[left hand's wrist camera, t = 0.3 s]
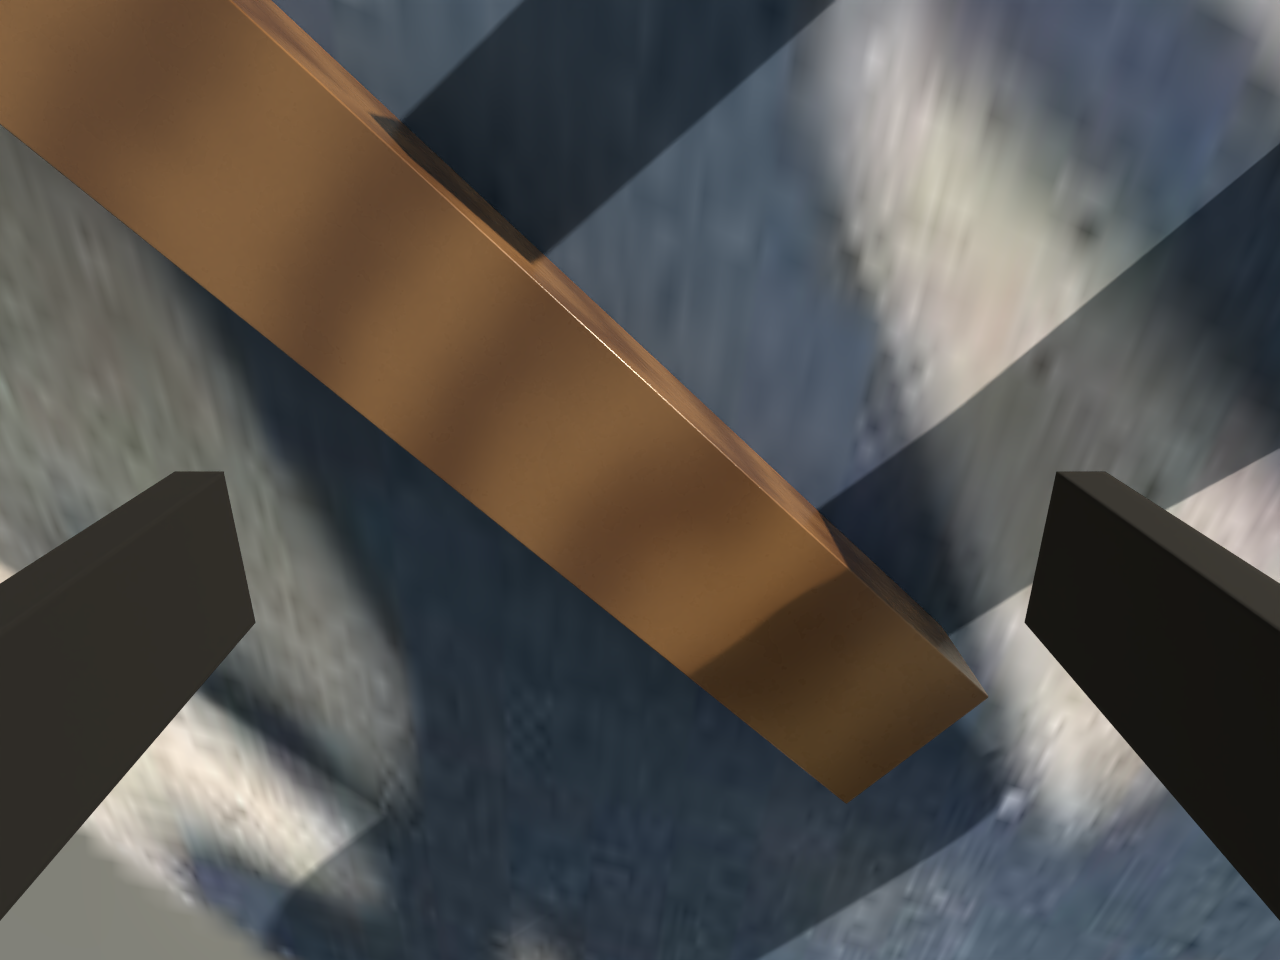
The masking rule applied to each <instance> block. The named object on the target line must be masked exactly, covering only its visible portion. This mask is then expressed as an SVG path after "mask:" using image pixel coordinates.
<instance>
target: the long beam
mask: <svg viewBox="0 0 1280 960" xmlns="http://www.w3.org/2000/svg"><path fill="white" fill-rule="evenodd" d="M0 124H1V125H2V126H3V127H4V128H6V129H7V130H8V131H9V132H11V133H12V134H13V135H14V136H15V137H17V138H18V139H19V140H20V141H22V142H23V143H24V144H25V145H27V146H28V147H29V148H30V149H32V150H33V151H34V152H35V153H37V154H38V155H39V156H40V157H42V158H43V159H44V160H45V161H47V162H48V163H49V164H50V165H52V166H53V167H54V168H55V169H57V170H58V171H59V172H60V173H62V174H63V175H64V176H65V177H67V178H68V179H69V180H70V181H72V182H73V183H74V184H75V185H77V186H78V187H79V188H80V189H81V190H83V191H84V192H85V193H86V194H88V195H89V196H90V197H91V198H93V199H94V200H95V201H96V202H98V203H99V204H100V205H101V206H103V207H104V208H105V209H106V210H108V211H109V212H110V213H111V214H113V215H114V216H115V217H116V218H118V219H119V220H120V221H121V222H123V223H124V224H125V225H126V226H128V227H129V228H130V229H131V230H133V231H134V232H135V233H136V234H138V235H139V236H140V237H141V238H142V239H144V240H145V241H146V242H147V243H149V244H150V245H151V246H152V247H154V248H155V249H156V250H157V251H159V252H160V253H161V254H162V255H164V256H165V257H166V258H167V259H169V260H170V261H171V262H172V263H174V264H175V265H176V266H177V267H179V268H180V269H181V270H182V271H184V272H185V273H186V274H187V275H189V276H190V277H191V278H192V279H194V280H195V281H196V282H197V283H199V284H200V285H201V286H202V287H203V288H205V289H206V290H207V291H208V292H210V293H211V294H212V295H213V296H215V297H216V298H217V299H218V300H220V301H221V302H222V303H223V304H225V305H226V306H227V307H228V308H230V309H231V310H232V311H233V312H235V313H236V314H237V315H238V316H240V317H241V318H242V319H243V320H245V321H246V322H247V323H248V324H250V325H251V326H252V327H253V328H255V329H256V330H257V331H258V332H260V333H261V334H262V335H263V336H265V337H266V338H267V339H268V340H269V341H271V342H272V343H273V344H274V345H276V346H277V347H278V348H279V349H281V350H282V351H283V352H284V353H286V354H287V355H288V356H289V357H291V358H292V359H293V360H294V361H296V362H297V363H298V364H299V365H301V366H302V367H303V368H304V369H306V370H307V371H308V372H309V373H311V374H312V375H313V376H314V377H316V378H317V379H318V380H319V381H321V382H322V383H323V384H324V385H326V386H327V387H328V388H329V389H330V390H332V391H333V392H334V393H335V394H337V395H338V396H339V397H340V398H342V399H343V400H344V401H345V402H347V403H348V404H349V405H350V406H352V407H353V408H354V409H355V410H357V411H358V412H359V413H360V414H362V415H363V416H364V417H365V418H367V419H368V420H369V421H370V422H372V423H373V424H374V425H375V426H377V427H378V428H379V429H380V430H382V431H383V432H384V433H385V434H387V435H388V436H389V437H390V438H392V439H393V440H394V441H395V442H396V443H398V444H399V445H400V446H401V447H403V448H404V449H405V450H406V451H408V452H409V453H410V454H411V455H413V456H414V457H415V458H416V459H418V460H419V461H420V462H421V463H423V464H424V465H425V466H426V467H428V468H429V469H430V470H431V471H433V472H434V473H435V474H436V475H438V476H439V477H440V478H441V479H443V480H444V481H445V482H446V483H448V484H449V485H450V486H451V487H453V488H454V489H455V490H456V491H457V492H459V493H460V494H461V495H462V496H464V497H465V498H466V499H467V500H469V501H470V502H471V503H472V504H474V505H475V506H476V507H477V508H479V509H480V510H481V511H482V512H484V513H485V514H486V515H487V516H489V517H490V518H491V519H492V520H494V521H495V522H496V523H497V524H499V525H500V526H501V527H502V528H504V529H505V530H506V531H507V532H509V533H510V534H511V535H512V536H514V537H515V538H516V539H517V540H518V541H520V542H521V543H522V544H523V545H525V546H526V547H527V548H528V549H530V550H531V551H532V552H533V553H535V554H536V555H537V556H538V557H540V558H541V559H542V560H543V561H545V562H546V563H547V564H548V565H550V566H551V567H552V568H553V569H555V570H556V571H557V572H558V573H560V574H561V575H562V576H563V577H565V578H566V579H567V580H568V581H570V582H571V583H572V584H573V585H575V586H576V587H577V588H578V589H580V590H581V591H582V592H583V593H584V594H586V595H587V596H588V597H589V598H591V599H592V600H593V601H594V602H596V603H597V604H598V605H599V606H601V607H602V608H603V609H604V610H606V611H607V612H608V613H609V614H611V615H612V616H613V617H614V618H616V619H617V620H618V621H619V622H621V623H622V624H623V625H624V626H626V627H627V628H628V629H629V630H631V631H632V632H633V633H634V634H636V635H637V636H638V637H639V638H641V639H642V640H643V641H644V642H645V643H647V644H648V645H649V646H650V647H652V648H653V649H654V650H655V651H657V652H658V653H659V654H660V655H662V656H663V657H664V658H665V659H667V660H668V661H669V662H670V663H672V664H673V665H674V666H675V667H677V668H678V669H679V670H680V671H682V672H683V673H684V674H685V675H687V676H688V677H689V678H690V679H692V680H693V681H694V682H695V683H697V684H698V685H699V686H700V687H702V688H703V689H704V690H705V691H706V692H708V693H709V694H710V695H711V696H713V697H714V698H715V699H716V700H718V701H719V702H720V703H721V704H723V705H724V706H725V707H726V708H728V709H729V710H730V711H731V712H733V713H734V714H735V715H736V716H738V717H739V718H740V719H741V720H743V721H744V722H745V723H746V724H748V725H749V726H750V727H751V728H753V729H754V730H755V731H756V732H758V733H759V734H760V735H761V736H763V737H764V738H765V739H766V740H768V741H769V742H770V743H771V744H772V745H774V746H775V747H776V748H777V749H779V750H780V751H781V752H782V753H784V754H785V755H786V756H787V757H789V758H790V759H791V760H792V761H794V762H795V763H796V764H797V765H799V766H800V767H801V768H802V769H804V770H805V771H806V772H807V773H809V774H810V775H811V776H812V777H814V778H815V779H816V780H817V781H819V782H820V783H821V784H822V785H824V786H825V787H826V788H827V789H829V790H830V791H831V792H832V793H833V794H835V795H836V796H837V797H838V798H840V799H841V800H842V801H843V802H845V803H848V802H850V801H851V800H852V799H854V798H855V797H856V796H858V795H859V794H860V793H862V792H863V791H864V790H866V789H867V788H868V787H870V786H871V785H872V784H874V783H875V782H876V781H878V780H879V779H880V778H882V777H883V776H884V775H886V774H887V773H888V772H890V771H891V770H892V769H894V768H895V767H896V766H898V765H899V764H900V763H902V762H903V761H904V760H906V759H907V758H908V757H909V756H911V755H912V754H913V753H915V752H916V751H917V750H919V749H920V748H921V747H923V746H924V745H925V744H927V743H928V742H929V741H931V740H932V739H933V738H935V737H936V736H937V735H939V734H940V733H941V732H943V731H944V730H945V729H947V728H948V727H949V726H951V725H952V724H953V723H955V722H956V721H957V720H959V719H960V718H961V717H963V716H964V715H965V714H967V713H968V712H969V711H971V710H972V709H973V708H975V707H976V706H977V705H979V704H980V703H981V702H983V701H984V700H985V699H987V698H988V695H987V694H986V692H985V691H984V689H983V688H982V686H981V685H980V683H979V682H978V680H977V679H976V677H975V676H974V674H973V673H972V671H971V670H970V668H969V667H968V665H967V664H966V662H965V661H964V659H963V658H962V656H961V655H960V653H959V652H958V650H957V649H956V647H955V646H954V644H953V643H952V641H951V640H950V638H949V637H948V635H947V634H946V632H945V631H944V629H943V628H942V626H941V625H940V624H939V623H938V622H937V621H936V620H934V619H933V618H932V617H931V616H930V615H929V614H928V613H927V612H926V611H925V610H924V609H923V608H922V607H921V606H919V605H918V604H917V603H916V602H915V601H914V600H913V599H912V598H911V597H910V596H909V595H908V594H907V593H906V592H904V591H903V590H902V589H901V588H900V587H899V586H898V585H897V584H896V583H895V582H894V581H893V580H892V579H891V578H889V577H888V576H887V575H886V574H885V573H884V572H883V571H882V570H881V569H880V568H879V567H878V566H877V565H876V564H874V563H873V562H872V561H871V560H870V559H869V558H868V557H867V556H866V555H865V554H864V553H863V552H862V551H861V550H859V549H858V548H857V547H856V546H855V545H854V544H853V543H852V542H851V541H850V540H849V539H848V538H847V537H846V536H844V535H843V534H842V533H841V532H840V531H839V530H838V529H837V528H836V527H835V526H834V525H833V524H832V523H831V522H829V521H828V520H827V519H826V518H825V517H824V516H823V515H822V514H821V513H820V512H819V511H818V510H817V509H816V508H814V507H813V506H812V505H811V504H810V503H809V502H808V501H807V500H806V499H805V498H804V497H803V496H802V495H801V494H799V493H798V492H797V491H796V490H795V489H794V488H793V487H792V486H791V485H790V484H789V483H788V482H787V481H786V480H784V479H783V478H782V477H781V476H780V475H779V474H778V473H777V472H776V471H775V470H774V469H773V468H772V467H771V466H769V465H768V464H767V463H766V462H765V461H764V460H763V459H762V458H761V457H760V456H759V455H758V454H757V453H756V452H754V451H753V450H752V449H751V448H750V447H749V446H748V445H747V444H746V443H745V442H744V441H743V440H742V439H741V438H739V437H738V436H737V435H736V434H735V433H734V432H733V431H732V430H731V429H730V428H729V427H728V426H727V425H726V424H724V423H723V422H722V421H721V420H720V419H719V418H718V417H717V416H716V415H715V414H714V413H713V412H712V411H711V410H709V409H708V408H707V407H706V406H705V405H704V404H703V403H702V402H701V401H700V400H699V399H698V398H697V397H696V396H694V395H693V394H692V393H691V392H690V391H689V390H688V389H687V388H686V387H685V386H684V385H683V384H682V383H681V382H679V381H678V380H677V379H676V378H675V377H674V376H673V375H672V374H671V373H670V372H669V371H668V370H667V369H666V368H664V367H663V366H662V365H661V364H660V363H659V362H658V361H657V360H656V359H655V358H654V357H653V356H652V355H651V354H649V353H648V352H647V351H646V350H645V349H644V348H643V347H642V346H641V345H640V344H639V343H638V342H637V341H636V340H634V339H633V338H632V337H631V336H630V335H629V334H628V333H627V332H626V331H625V330H624V329H623V328H622V327H621V326H619V325H618V324H617V323H616V322H615V321H614V320H613V319H612V318H611V317H610V316H609V315H608V314H607V313H606V312H604V311H603V310H602V309H601V308H600V307H599V306H598V305H597V304H596V303H595V302H594V301H593V300H592V299H591V298H589V297H588V296H587V295H586V294H585V293H584V292H583V291H582V290H581V289H580V288H579V287H578V286H577V285H576V284H574V283H573V282H572V281H571V280H570V279H569V278H568V277H567V276H566V275H565V274H564V273H563V272H562V271H561V270H559V269H558V268H557V267H556V266H555V265H554V264H553V263H552V262H551V261H550V260H549V259H548V258H547V257H546V256H544V255H543V254H542V253H541V252H540V251H539V250H538V249H537V248H536V247H535V246H534V245H533V244H532V243H531V242H529V241H528V240H527V239H526V238H525V237H524V236H523V235H522V234H521V233H520V232H519V231H518V230H517V229H516V228H514V227H513V226H512V225H511V224H510V223H509V222H508V221H507V220H506V219H505V218H504V217H503V216H502V215H501V214H499V213H498V212H497V211H496V210H495V209H494V208H493V207H492V206H491V205H490V204H489V203H488V202H487V201H486V200H484V199H483V198H482V197H481V196H480V195H479V194H478V193H477V192H476V191H475V190H474V189H473V188H472V187H471V186H469V185H468V184H467V183H466V182H465V181H464V180H463V179H462V178H461V177H460V176H459V175H458V174H457V173H456V172H454V171H453V170H452V169H451V168H450V167H449V166H448V165H447V164H446V163H445V162H444V161H443V160H442V159H441V158H439V157H438V156H437V155H436V154H435V153H434V152H433V151H432V150H431V149H430V148H429V147H428V146H427V145H426V144H424V143H423V142H422V141H421V140H420V139H419V138H418V137H417V136H416V135H415V134H414V133H413V132H412V131H411V130H409V129H408V128H407V127H406V126H405V125H404V124H403V123H402V122H401V121H400V120H399V119H398V118H397V117H396V116H394V115H393V114H392V113H391V112H390V111H389V110H388V109H387V108H386V107H385V106H384V105H383V104H382V103H381V102H379V101H378V100H377V99H376V98H375V97H374V96H373V95H372V94H371V93H370V92H369V91H368V90H367V89H366V88H364V87H363V86H362V85H361V84H360V83H359V82H358V81H357V80H356V79H355V78H354V77H353V76H352V75H351V74H349V73H348V72H347V71H346V70H345V69H344V68H343V67H342V66H341V65H340V64H339V63H338V62H337V61H336V60H334V59H333V58H332V57H331V56H330V55H329V54H328V53H327V52H326V51H325V50H324V49H323V48H322V47H321V46H319V45H318V44H317V43H316V42H315V41H314V40H313V39H312V38H311V37H310V36H309V35H308V34H307V33H306V32H304V31H303V30H302V29H301V28H300V27H299V26H298V25H297V24H296V23H295V22H294V21H293V20H292V19H291V18H289V17H288V16H287V15H286V14H285V13H284V12H283V11H282V10H281V9H280V8H279V7H278V6H277V5H276V4H274V3H273V2H272V1H271V0H0Z"/></svg>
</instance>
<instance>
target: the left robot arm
mask: <svg viewBox="0 0 1280 960" xmlns="http://www.w3.org/2000/svg"><path fill="white" fill-rule="evenodd" d="M254 624H255V618H254V614H253V609H252V604H251V599H250V595H249V590H248V585H247V580H246V576H245V571H244V566H243V562H242V557H241V552H240V547H239V543H238V538H237V533H236V528H235V524H234V519H233V514H232V509H231V505H230V500H229V495H228V491H227V486H226V481H225V476H224V472H174V473H172V474H170V475H169V476H167V477H166V478H164V479H163V480H161V481H160V482H158V483H156V484H155V485H153V486H152V487H150V488H149V489H147V490H145V491H144V492H142V493H141V494H139V495H138V496H136V497H135V498H133V499H131V500H130V501H128V502H127V503H125V504H124V505H122V506H121V507H119V508H117V509H116V510H114V511H113V512H111V513H110V514H108V515H106V516H105V517H103V518H102V519H100V520H99V521H97V522H96V523H94V524H92V525H91V526H89V527H88V528H86V529H85V530H83V531H82V532H80V533H78V534H77V535H75V536H74V537H72V538H71V539H69V540H68V541H66V542H64V543H63V544H61V545H60V546H58V547H57V548H55V549H53V550H52V551H50V552H49V553H47V554H46V555H44V556H43V557H41V558H39V559H38V560H36V561H35V562H33V563H32V564H30V565H29V566H27V567H25V568H24V569H22V570H21V571H19V572H18V573H16V574H14V575H13V576H11V577H10V578H8V579H7V580H5V581H4V582H2V583H0V920H1V919H2V918H3V917H4V916H5V914H6V913H7V912H8V911H9V910H10V909H11V907H12V906H13V905H14V904H15V903H16V902H17V900H18V899H19V898H20V897H21V896H22V895H23V893H24V892H25V891H26V890H27V889H28V888H29V886H30V885H31V884H32V883H33V882H34V880H35V879H36V878H37V877H38V876H39V875H40V873H41V872H42V871H43V870H44V869H45V868H46V867H47V865H48V864H49V863H50V862H51V861H52V859H53V858H54V857H55V856H56V855H57V854H58V852H59V851H60V850H61V849H62V848H63V847H64V845H65V844H66V843H67V842H68V841H69V840H70V838H71V837H72V836H73V835H74V834H75V833H76V831H77V830H78V829H79V828H80V827H81V826H82V824H83V823H84V822H85V821H86V820H87V819H88V817H89V816H90V815H91V814H92V813H93V812H94V810H95V809H96V808H97V807H98V806H99V805H100V803H101V802H102V801H103V800H104V799H105V798H106V796H107V795H108V794H109V793H110V792H111V791H112V789H113V788H114V787H115V786H116V785H117V784H118V782H119V781H120V780H121V779H122V778H123V777H124V775H125V774H126V773H127V772H128V771H129V770H130V768H131V767H132V766H133V765H134V764H135V763H136V761H137V760H138V759H139V758H140V757H141V756H142V754H143V753H144V752H145V751H146V750H147V749H148V747H149V746H150V745H151V744H152V743H153V742H154V740H155V739H156V738H157V737H158V736H159V735H160V733H161V732H162V731H163V730H164V729H165V728H166V726H167V725H168V724H169V723H170V722H171V721H172V719H173V718H174V717H175V716H176V715H177V714H178V712H179V711H180V710H181V709H182V708H183V707H184V705H185V704H186V703H187V702H188V701H189V700H190V698H191V697H192V696H193V695H194V694H195V692H196V691H197V690H198V689H199V688H200V687H201V685H202V684H203V683H204V682H205V681H206V680H207V678H208V677H209V676H210V675H211V674H212V673H213V671H214V670H215V669H216V668H217V667H218V666H219V664H220V663H221V662H222V661H223V660H224V659H225V657H226V656H227V655H228V654H229V653H230V652H231V650H232V649H233V648H234V647H235V646H236V645H237V643H238V642H239V641H240V640H241V639H242V638H243V636H244V635H245V634H246V633H247V632H248V631H249V629H250V628H251V627H252V626H253V625H254ZM1025 624H1026V625H1027V626H1028V627H1029V628H1030V629H1031V631H1032V632H1033V633H1034V634H1035V635H1036V636H1037V638H1038V639H1039V640H1040V641H1041V642H1042V643H1043V645H1044V646H1045V647H1046V648H1047V649H1048V650H1049V652H1050V653H1051V654H1052V655H1053V656H1054V657H1055V659H1056V660H1057V661H1058V662H1059V663H1060V664H1061V666H1062V667H1063V668H1064V669H1065V670H1066V671H1067V673H1068V674H1069V675H1070V676H1071V677H1072V678H1073V680H1074V681H1075V682H1076V683H1077V684H1078V685H1079V687H1080V688H1081V689H1082V690H1083V691H1084V693H1085V694H1086V695H1087V696H1088V697H1089V698H1090V700H1091V701H1092V702H1093V703H1094V704H1095V705H1096V707H1097V708H1098V709H1099V710H1100V711H1101V712H1102V714H1103V715H1104V716H1105V717H1106V718H1107V719H1108V721H1109V722H1110V723H1111V724H1112V725H1113V726H1114V728H1115V729H1116V730H1117V731H1118V732H1119V733H1120V735H1121V736H1122V737H1123V738H1124V739H1125V740H1126V742H1127V743H1128V744H1129V745H1130V746H1131V747H1132V749H1133V750H1134V751H1135V752H1136V753H1137V754H1138V756H1139V757H1140V758H1141V759H1142V760H1143V761H1144V763H1145V764H1146V765H1147V766H1148V767H1149V768H1150V770H1151V771H1152V772H1153V773H1154V774H1155V775H1156V777H1157V778H1158V779H1159V780H1160V781H1161V782H1162V784H1163V785H1164V786H1165V787H1166V788H1167V789H1168V791H1169V792H1170V793H1171V794H1172V795H1173V796H1174V798H1175V799H1176V800H1177V801H1178V802H1179V803H1180V805H1181V806H1182V807H1183V808H1184V809H1185V810H1186V812H1187V813H1188V814H1189V815H1190V816H1191V817H1192V819H1193V820H1194V821H1195V822H1196V823H1197V824H1198V826H1199V827H1200V828H1201V829H1202V830H1203V831H1204V833H1205V834H1206V835H1207V836H1208V837H1209V838H1210V840H1211V841H1212V842H1213V843H1214V844H1215V845H1216V847H1217V848H1218V849H1219V850H1220V851H1221V853H1222V854H1223V855H1224V856H1225V857H1226V858H1227V860H1228V861H1229V862H1230V863H1231V864H1232V865H1233V867H1234V868H1235V869H1236V870H1237V871H1238V872H1239V874H1240V875H1241V876H1242V877H1243V878H1244V879H1245V881H1246V882H1247V883H1248V884H1249V885H1250V886H1251V888H1252V889H1253V890H1254V891H1255V892H1256V893H1257V895H1258V896H1259V897H1260V898H1261V899H1262V900H1263V902H1264V903H1265V904H1266V905H1267V906H1268V907H1269V909H1270V910H1271V911H1272V912H1273V913H1274V914H1275V916H1276V917H1277V918H1278V919H1279V920H1280V583H1278V582H1276V581H1275V580H1273V579H1272V578H1270V577H1269V576H1267V575H1266V574H1264V573H1262V572H1261V571H1259V570H1258V569H1256V568H1255V567H1253V566H1251V565H1250V564H1248V563H1247V562H1245V561H1244V560H1242V559H1241V558H1239V557H1237V556H1236V555H1234V554H1233V553H1231V552H1230V551H1228V550H1227V549H1225V548H1223V547H1222V546H1220V545H1219V544H1217V543H1216V542H1214V541H1212V540H1211V539H1209V538H1208V537H1206V536H1205V535H1203V534H1202V533H1200V532H1198V531H1197V530H1195V529H1194V528H1192V527H1191V526H1189V525H1188V524H1186V523H1184V522H1183V521H1181V520H1180V519H1178V518H1177V517H1175V516H1173V515H1172V514H1170V513H1169V512H1167V511H1166V510H1164V509H1163V508H1161V507H1159V506H1158V505H1156V504H1155V503H1153V502H1152V501H1150V500H1149V499H1147V498H1145V497H1144V496H1142V495H1141V494H1139V493H1138V492H1136V491H1135V490H1133V489H1131V488H1130V487H1128V486H1127V485H1125V484H1124V483H1122V482H1120V481H1119V480H1117V479H1116V478H1114V477H1113V476H1111V475H1110V474H1108V473H1106V472H1056V476H1055V481H1054V486H1053V491H1052V495H1051V500H1050V505H1049V509H1048V514H1047V519H1046V524H1045V528H1044V533H1043V538H1042V543H1041V547H1040V552H1039V557H1038V562H1037V566H1036V571H1035V576H1034V580H1033V585H1032V590H1031V595H1030V599H1029V604H1028V609H1027V614H1026V618H1025Z"/></svg>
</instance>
